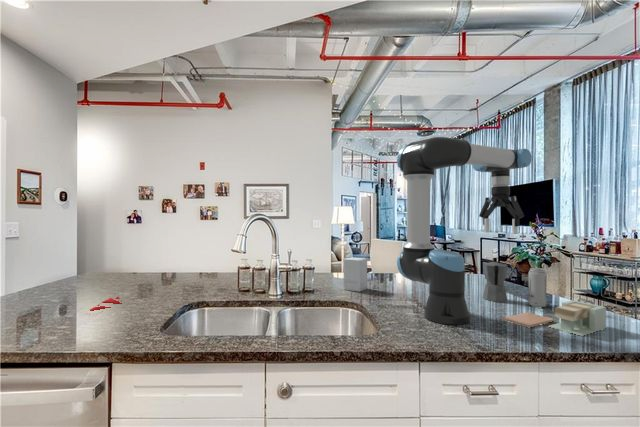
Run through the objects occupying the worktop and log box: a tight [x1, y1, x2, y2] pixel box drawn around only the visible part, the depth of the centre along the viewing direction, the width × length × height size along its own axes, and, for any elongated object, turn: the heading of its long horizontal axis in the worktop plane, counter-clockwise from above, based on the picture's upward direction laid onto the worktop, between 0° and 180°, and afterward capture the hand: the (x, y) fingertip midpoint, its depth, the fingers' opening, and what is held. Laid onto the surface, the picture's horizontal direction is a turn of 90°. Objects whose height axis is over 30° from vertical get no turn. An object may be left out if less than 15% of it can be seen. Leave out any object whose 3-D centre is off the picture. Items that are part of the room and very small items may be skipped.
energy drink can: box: [527, 267, 547, 308], centre depth 136 cm, size 6×6×15 cm
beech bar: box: [554, 303, 593, 321], centre depth 109 cm, size 12×5×3 cm, turn 118°
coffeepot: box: [482, 257, 508, 303], centre depth 145 cm, size 15×9×18 cm, turn 156°
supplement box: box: [343, 256, 368, 293], centre depth 166 cm, size 9×9×15 cm
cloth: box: [89, 296, 122, 311], centre depth 135 cm, size 26×14×2 cm, turn 177°
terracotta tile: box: [502, 311, 555, 328], centre depth 117 cm, size 14×9×1 cm, turn 118°
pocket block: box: [548, 300, 607, 337], centre depth 110 cm, size 15×9×7 cm, turn 118°
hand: (500, 233), depth 155 cm, fingers open, 13 cm apart
